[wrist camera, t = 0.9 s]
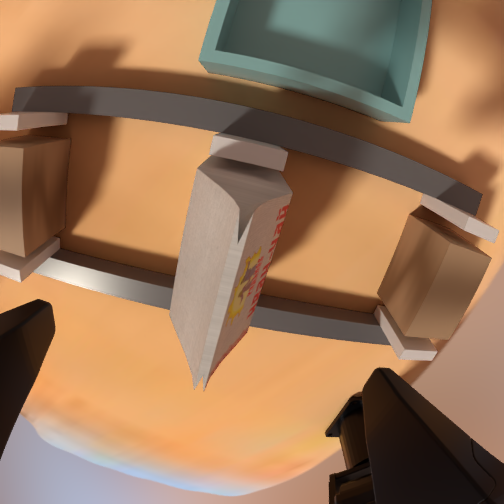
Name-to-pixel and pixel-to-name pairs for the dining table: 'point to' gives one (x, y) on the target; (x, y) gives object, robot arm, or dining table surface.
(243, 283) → the tea bag
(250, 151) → the clip holder
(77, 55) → the dining table surface
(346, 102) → the teal tray
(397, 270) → the walnut block
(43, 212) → the walnut block
